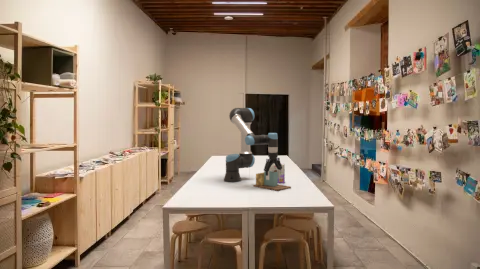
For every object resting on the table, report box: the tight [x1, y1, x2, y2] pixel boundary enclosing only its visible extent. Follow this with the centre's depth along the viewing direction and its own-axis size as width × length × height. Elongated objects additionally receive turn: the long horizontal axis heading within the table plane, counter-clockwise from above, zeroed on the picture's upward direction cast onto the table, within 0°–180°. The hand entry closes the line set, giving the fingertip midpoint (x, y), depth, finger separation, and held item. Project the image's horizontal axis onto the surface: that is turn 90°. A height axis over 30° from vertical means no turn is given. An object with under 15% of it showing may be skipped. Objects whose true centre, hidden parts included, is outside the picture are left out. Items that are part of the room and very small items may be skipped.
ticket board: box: [253, 171, 292, 192], centre depth 290 cm, size 26×16×10 cm, turn 45°
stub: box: [263, 170, 279, 187], centre depth 291 cm, size 10×5×11 cm, turn 45°
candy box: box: [269, 163, 286, 184], centre depth 309 cm, size 14×6×16 cm, turn 84°
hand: (273, 178), depth 289 cm, fingers open, 13 cm apart
